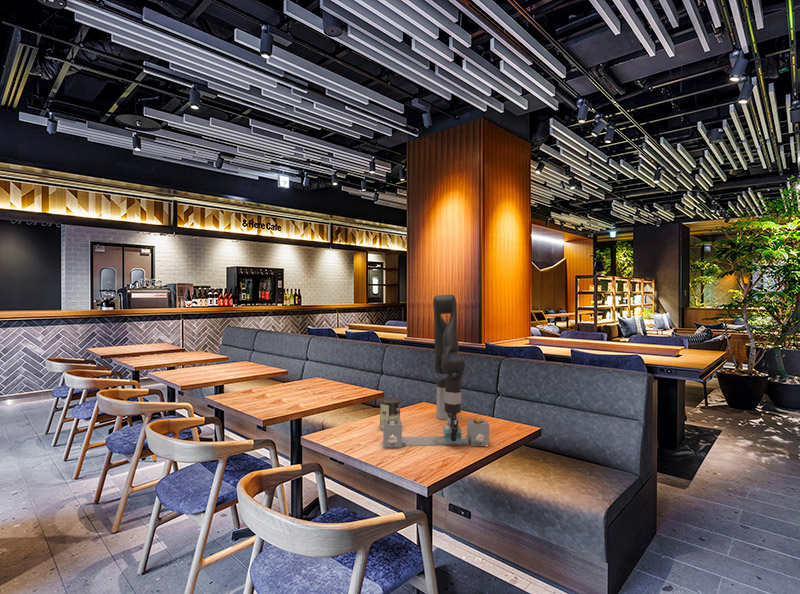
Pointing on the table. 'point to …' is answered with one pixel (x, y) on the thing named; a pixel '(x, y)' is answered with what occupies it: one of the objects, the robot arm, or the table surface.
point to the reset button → (477, 419)
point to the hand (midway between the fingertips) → (452, 438)
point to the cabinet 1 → (392, 434)
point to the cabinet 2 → (478, 432)
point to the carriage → (448, 435)
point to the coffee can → (389, 410)
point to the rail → (430, 441)
